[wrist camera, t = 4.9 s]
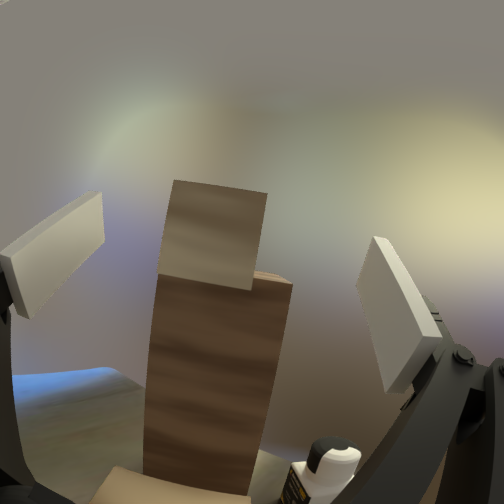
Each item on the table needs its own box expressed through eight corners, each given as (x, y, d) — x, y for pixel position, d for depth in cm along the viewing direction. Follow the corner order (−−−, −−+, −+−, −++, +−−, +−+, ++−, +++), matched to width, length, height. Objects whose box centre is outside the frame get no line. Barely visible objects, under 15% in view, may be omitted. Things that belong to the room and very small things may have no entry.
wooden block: (251, 290, 12) (267, 193, 12) (156, 273, 12) (173, 179, 13) (253, 270, 38) (258, 238, 38) (221, 265, 38) (226, 233, 39)
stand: (233, 542, 22) (292, 284, 22) (144, 523, 22) (160, 260, 22) (239, 460, 40) (275, 273, 40) (176, 448, 40) (200, 261, 40)
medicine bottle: (279, 497, 31) (300, 432, 32) (325, 491, 33) (350, 428, 33) (295, 530, 24) (323, 465, 25) (345, 521, 26) (378, 456, 26)
